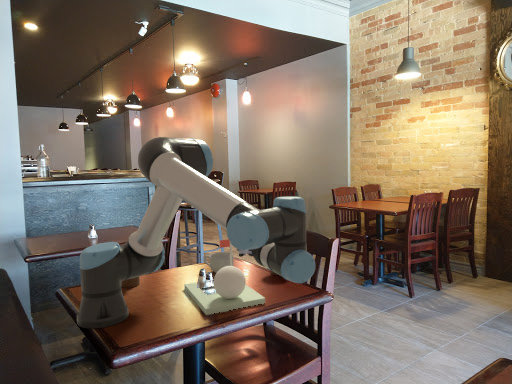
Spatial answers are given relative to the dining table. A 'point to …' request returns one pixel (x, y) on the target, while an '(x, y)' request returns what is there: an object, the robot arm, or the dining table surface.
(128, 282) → the mug
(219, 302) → the putting deck
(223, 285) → the ball
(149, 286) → the dining table surface
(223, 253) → the teacup
